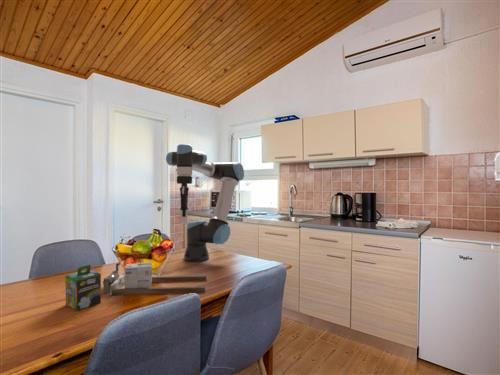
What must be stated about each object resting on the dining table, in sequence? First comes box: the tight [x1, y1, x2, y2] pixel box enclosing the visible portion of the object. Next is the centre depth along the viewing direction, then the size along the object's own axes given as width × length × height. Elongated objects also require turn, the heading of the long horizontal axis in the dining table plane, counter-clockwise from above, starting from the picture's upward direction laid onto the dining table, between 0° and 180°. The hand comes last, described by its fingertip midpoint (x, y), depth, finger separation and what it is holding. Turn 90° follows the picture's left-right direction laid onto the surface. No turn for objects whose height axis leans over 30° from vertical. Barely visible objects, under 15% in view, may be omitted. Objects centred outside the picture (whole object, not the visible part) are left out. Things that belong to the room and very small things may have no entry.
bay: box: [109, 272, 207, 296], centre depth 128 cm, size 16×38×4 cm, turn 96°
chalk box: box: [64, 264, 102, 312], centre depth 109 cm, size 9×9×15 cm
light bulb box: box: [124, 262, 153, 289], centre depth 125 cm, size 11×7×11 cm, turn 106°
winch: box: [102, 262, 121, 294], centre depth 128 cm, size 16×4×9 cm, turn 6°
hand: (184, 222), depth 144 cm, fingers closed
